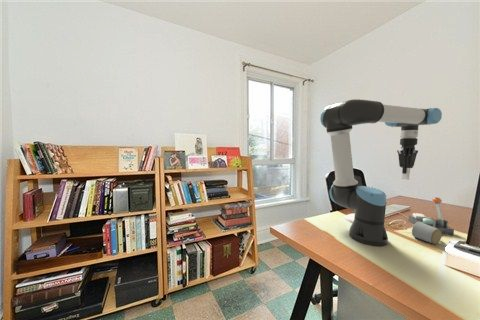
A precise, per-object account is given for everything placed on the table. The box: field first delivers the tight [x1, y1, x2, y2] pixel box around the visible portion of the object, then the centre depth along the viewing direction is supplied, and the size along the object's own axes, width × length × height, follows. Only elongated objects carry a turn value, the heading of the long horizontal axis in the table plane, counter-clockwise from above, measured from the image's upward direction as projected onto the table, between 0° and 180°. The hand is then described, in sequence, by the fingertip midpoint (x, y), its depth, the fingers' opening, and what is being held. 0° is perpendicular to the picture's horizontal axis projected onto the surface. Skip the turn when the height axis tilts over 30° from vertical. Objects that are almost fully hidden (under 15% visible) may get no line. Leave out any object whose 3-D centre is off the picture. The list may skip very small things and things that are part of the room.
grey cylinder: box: [411, 222, 443, 245], centre depth 91 cm, size 11×8×8 cm
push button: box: [423, 218, 434, 225], centre depth 102 cm, size 4×4×2 cm
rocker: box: [412, 212, 427, 219], centre depth 110 cm, size 4×3×1 cm
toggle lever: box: [432, 196, 445, 224], centre depth 101 cm, size 3×3×14 cm
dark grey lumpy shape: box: [408, 215, 455, 236], centre depth 105 cm, size 11×16×6 cm
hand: (405, 179), depth 113 cm, fingers closed
